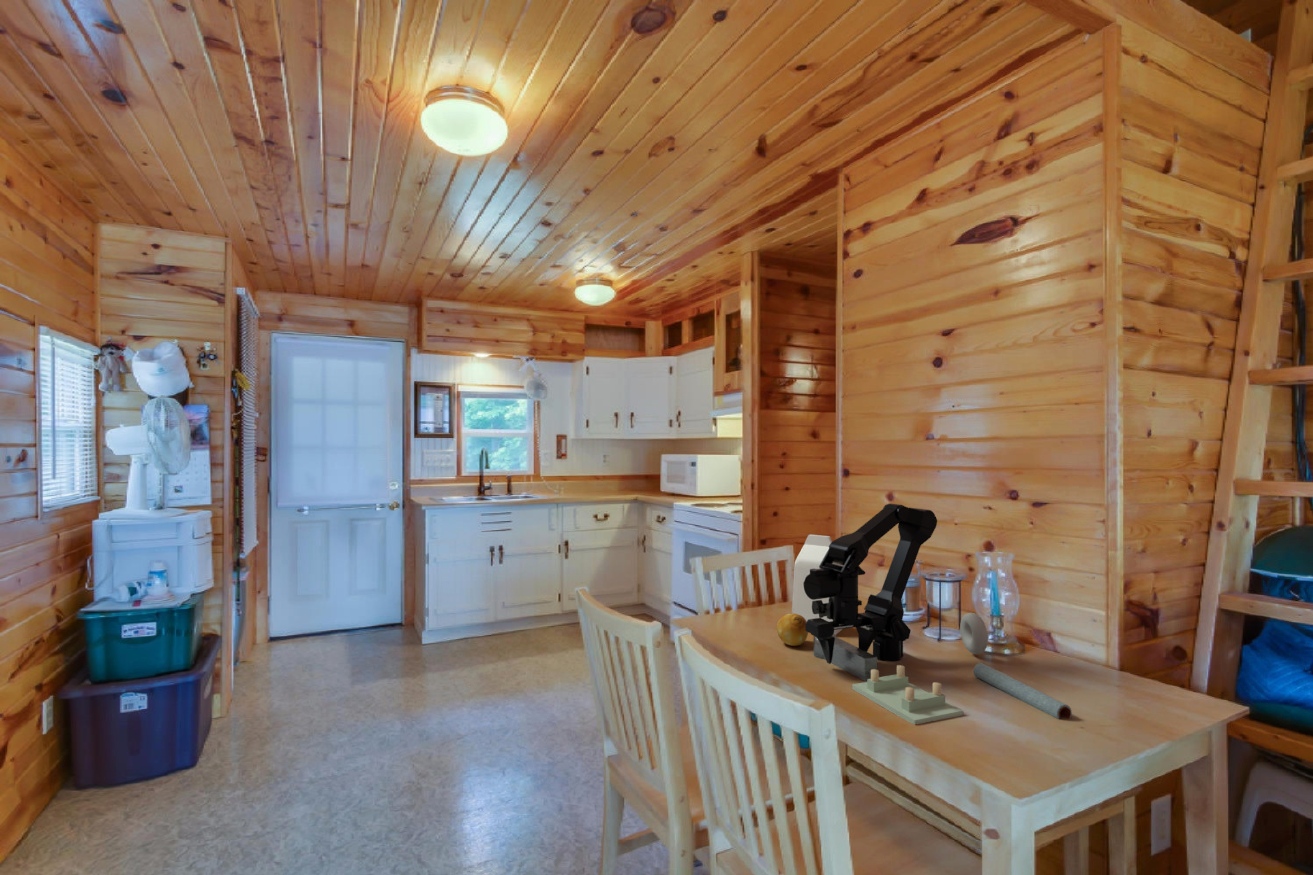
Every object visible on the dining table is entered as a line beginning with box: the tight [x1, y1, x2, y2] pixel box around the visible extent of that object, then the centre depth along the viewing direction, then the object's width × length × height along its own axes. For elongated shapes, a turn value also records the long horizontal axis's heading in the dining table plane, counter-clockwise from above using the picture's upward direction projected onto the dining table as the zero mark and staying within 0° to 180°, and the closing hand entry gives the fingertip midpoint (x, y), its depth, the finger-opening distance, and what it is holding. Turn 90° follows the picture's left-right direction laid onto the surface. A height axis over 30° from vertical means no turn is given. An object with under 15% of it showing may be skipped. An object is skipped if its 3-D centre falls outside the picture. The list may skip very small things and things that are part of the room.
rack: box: [851, 664, 964, 725], centre depth 127 cm, size 12×18×5 cm, turn 21°
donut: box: [959, 612, 989, 655], centre depth 155 cm, size 10×4×10 cm, turn 178°
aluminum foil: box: [973, 662, 1073, 720], centre depth 130 cm, size 23×7×3 cm, turn 12°
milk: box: [791, 534, 844, 636], centre depth 176 cm, size 12×12×26 cm
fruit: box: [776, 612, 809, 647], centre depth 162 cm, size 8×8×8 cm
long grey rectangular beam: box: [813, 634, 878, 682], centre depth 147 cm, size 5×20×5 cm, turn 21°
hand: (845, 660), depth 146 cm, fingers open, 9 cm apart
